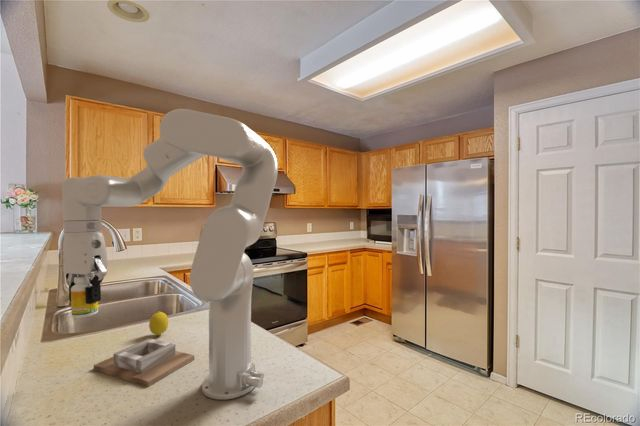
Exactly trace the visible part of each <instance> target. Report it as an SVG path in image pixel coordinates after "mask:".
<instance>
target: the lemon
mask: <svg viewBox="0 0 640 426" xmlns="http://www.w3.org/2000/svg"><path fill="white" fill-rule="evenodd" d="M168 326H169V317H168V316H167V314H166V313H164V312H162V311H157V312H155V313H154V314H153V315H152V316H151V317H150V320H149V324H148V327H149V331H150V332H151V333H152V334H153V335H156V336H158V337H159V336H160V337H161V335H162V334H163V333H164V332H165V333H166V331H167V329H168Z"/></svg>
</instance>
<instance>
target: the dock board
mask: <svg viewBox="0 0 640 426" xmlns="http://www.w3.org/2000/svg"><path fill="white" fill-rule="evenodd" d="M193 361H195V354H191V353H187V352H182V351H178V350H176V344H175V343H171V342H168V341H167V342H166V341H162V340H159V339H158V340H157V339H154V338H147V339H145V340H142V341H139V342H137V343H135V344H133V345H131V346H129V347H126V348H123V349H121V350H119V351H117V352H114V353H113V356H111V357H108V358H107V359H104V360H102V361H100V362H97V363H95V364H93V371H96V372H100V373H103V374H106V375H109V376H113V377H116V378H119V379H123V380H126V381H129V382H133V383H136V384H138V385H143V386H144V387H145V386H146V387H151V386H153V385H155V384H156V383H158V382H159V381H161V380H163V379H164V378H166V377H168V376H169V375H171V374H173V373H174V372H176V371H178V370H179V369H181V368H182V367H183V368H184V366H186V365H188V364H189V363H191V362H193Z"/></svg>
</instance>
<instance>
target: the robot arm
mask: <svg viewBox="0 0 640 426" xmlns="http://www.w3.org/2000/svg"><path fill="white" fill-rule="evenodd" d="M159 134H160V136H161V137H159V138H158V139H156V140H154V141H153V142H151V143H150V144H149V143H148V145H146V146H145V147H144V149H143V153H142V154H143V159H144V161H145V163H146V167H145V168H143V169H142V170H141V171H139V172H137V173H135V174H134V175H132V176H131V177H120V176H114V175H106V174H97V175H96V174H94V175H90V176H86V177H82V176H81V177H80V176H75V177H67V178H64V180H63V181H62V184H61V189H62V191H61V192H62V195H61V196H62V224H63V225H62V226H63V227H62V228H63V230H62V231H63V236H64V238H63V247H62V250H63V252H62V266H63V268H62V272H63V273H64V275H65V278H66V280H67V282H66V283H67V285H68V300H69V302H71V288H72V286H74V285H76V284H75V283H74V277H76V276H80V275H85V279H86V283H87V286H88V287H85V296H86V304H90V303H94V302H98V303H99V302H100V301H101V299H102V293H101V292H102V291H101V288H102V287H101V285H102V284H103V281H104V278H105V277H106V276H107V274H108V271H107V270H108V269H109V268H108V267H109V266H108V255H107V253H108V252H107V245H106V240H105V236H104V233H103V229H102V228H103V226H102V225H103V224H102V208H103V207H105V208H130V207H131V208H132V207H135V206H139V205H140V204H142V203H144V202H146V201H147V200H149V199H151V198H153V197H154V196H156V195H157V194H159V193H160V192H162V190H163V189H164V187H165V186H166V185H167V183H168V182H169V180H170V178H171V177H172V176H174V175H175V174H177V173H178V172H180V171H181V170H183V169H184V168H187V167H188V166H190V165H192V164H193V163H195V162H197V161H198V160H200V159H202V158H203V157H205V156H208V157H209V156H210V157H215V158H218V159H222V160H225V161H228V162H230V163H233V164H236V165H239V166H240V167H241V169H242V172H241V175H240V176H239V177H238V180H237V182H236V185H235V187H234V191H233V194H232V197H231V202H230V203H229V205H225V206H221V207H219V208H216V209H215V210H214V211H213V212H212V213H211V214H210V215H209V216H208V218H207V219H206V222H205V223H204V224H203V225H204V226H203V227H202V231H201V234H200V236H199V240H198V243H197V247H196V250H195V254H194V258H193V260H192V265H191V266H190V267H191V268H190V273H189V286H190V289H191V291H192V294H194V296H195V297H196V298H197V299H198V300H200V301H203V302H205V303H208V304H209V306H208V374H207V376H206V377H205V378H204V379H203V380H202V383H201V390H202V393H203V394H204V396H206V397H208V398H210V399H213V400H220V401H223V400H225V401H226V400H231V399H236V398H239V397H242V396H244V395H247V394H248V393H250V392H252V390H254V388H258V389H261V388H262V387H263V385H264V377H265V373H264V372H259V371H256V363H254V362H252V291H253V283H254V266H253V262H252V260H251V259H250V257H249V256H248V254H246V253H245V250H246V248H248V247H250V246H251V245H253V244H255V243H256V242H257V241H258V240H259V238H260V237H261V235H262V232H263V227H264V224H265V220H266V219H267V218H266V217H267V213H268V210H269V207H270V203H271V198H272V196H273V193H274V189H275V186H276V184H277V183H276V182H277V178H278V175H279V174H278V171H279V166H278V159H277V156H276V154H275V152H274V151H273V149H272V147H271V146H270V145H269V144H268V143H267V142H266V141H265V139H264V138H262V137H261V136H260V135H259V134H258V133H256V132H255V131H254V130H252V129H251V128H250V127H248V126H247V125H246V124H245V123H243V122H241V121H239V120H237V119H235V118H232V117H226V116H222V115H217V114H212V113H207V112H203V111H198V110H194V109H188V108H187V109H186V108H177V109H173V110H170V111H169V112H167V113H166V114H165V115H164V116H163V117H162V119H161V120H160V123H159ZM91 276H94V277H93V279H92V280H91Z"/></svg>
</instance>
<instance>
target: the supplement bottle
mask: <svg viewBox="0 0 640 426" xmlns="http://www.w3.org/2000/svg"><path fill="white" fill-rule="evenodd" d="M93 277H94V276H91V280H92V279H93ZM74 283H75V284H76V285H74V286H72V288H71V301H70V302H71V303H70V305H71V317H73V318H74V319H80V318H81V319H83V318H87V317H92V316H94V315H97V314H98V313H99V301H98V302H94V303H90V304H86V296H85V287H88V286H87V283H86V279H85V275H80V276H78V275H77V276H76V277H74Z"/></svg>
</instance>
